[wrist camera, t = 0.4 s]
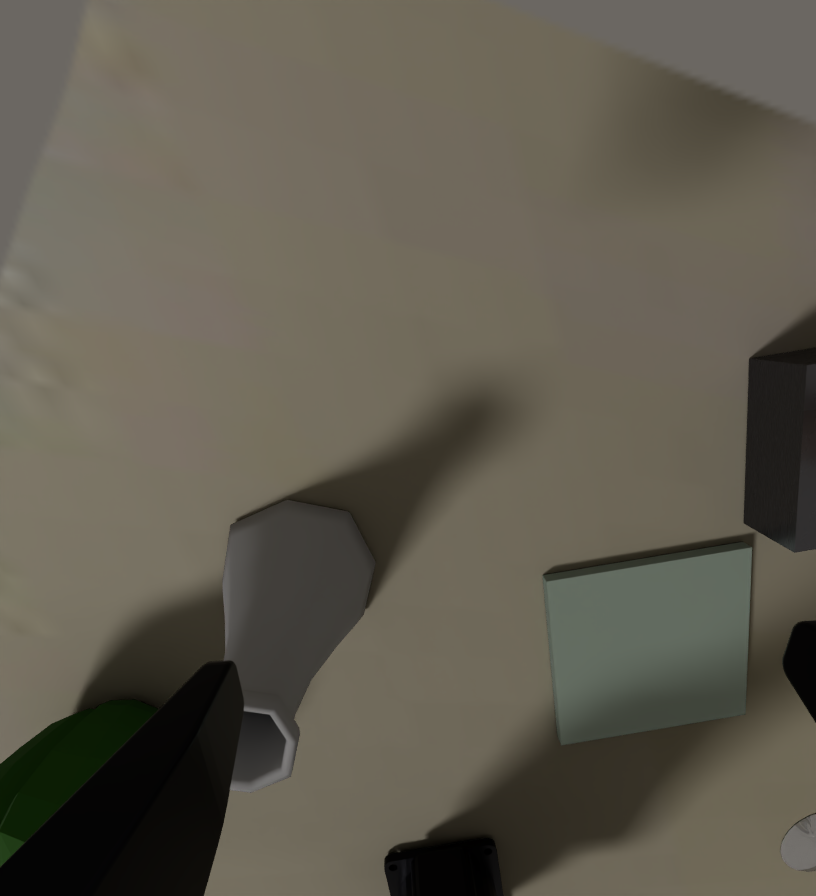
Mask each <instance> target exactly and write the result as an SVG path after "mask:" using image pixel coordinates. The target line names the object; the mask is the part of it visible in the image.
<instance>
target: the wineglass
mask: <svg viewBox="0 0 816 896" xmlns="http://www.w3.org/2000/svg"><path fill="white" fill-rule="evenodd" d="M781 855H782V859H783V860H784V862H785V863H786V864H787V865H788V866H789V867H791V868H793V869H796V870H798V871H806V872H812V871H816V814H814V815H811V816H808V817H806V818H805V819H803V820H802V821H800V822H798V823H797V824H795V825H794V826H793V827H792V828H791V829H790V830H789V831H788V832H787V834H786V836H785V838H784V839H783V841H782V845H781Z"/></svg>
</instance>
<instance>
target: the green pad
mask: <svg viewBox="0 0 816 896" xmlns="http://www.w3.org/2000/svg"><path fill="white" fill-rule="evenodd" d="M751 563H752V547H751V546H749V545H747V544H746V543H744V542H739V543H733V544H727V545H721V546H715V547H709V548H703V549H697V550H691V551H685V552H679V553H673V554H667V555H661V556H655V557H649V558H643V559H637V560H631V561H625V562H619V563H613V564H607V565H601V566H595V567H589V568H583V569H577V570H571V571H565V572H559V573H553V574H547V575H543V586H544V596H545V607H546V618H547V629H548V640H549V650H550V661H551V672H552V683H553V693H554V704H555V715H556V726H557V736H558V739H559V741H560V743H561V745H567V744H573V743H579V742H585V741H591V740H597V739H603V738H609V737H615V736H621V735H627V734H633V733H639V732H645V731H650V730H656V729H662V728H668V727H674V726H680V725H686V724H692V723H698V722H704V721H710V720H716V719H722V718H728V717H734V716H740V715H745V713H746V688H747V663H748V638H749V613H750V588H751Z"/></svg>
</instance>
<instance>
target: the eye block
mask: <svg viewBox="0 0 816 896" xmlns="http://www.w3.org/2000/svg"><path fill="white" fill-rule="evenodd" d="M744 524H746V525H748V526H749V527H751V528H753V529H755V530H756V531H758V532H760V533H761V534H763V535H765V536H767V537H768V538H770V539H772V540H774V541H775V542H777V543H779V544H780V545H782V546H784V547H786V548H787V549H789V550H791V551H793V552H794V553H795V552H801V551H807V550H813V549H816V348H810V349H804V350H798V351H792V352H786V353H780V354H774V355H768V356H762V357H756V358H750V359H749V384H748V413H747V443H746V472H745V501H744Z"/></svg>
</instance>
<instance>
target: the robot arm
mask: <svg viewBox="0 0 816 896" xmlns="http://www.w3.org/2000/svg"><path fill="white" fill-rule="evenodd" d="M782 664H783V669H784V672H785V674H786V676H787V678H788V679H789V681H790V683H791V684H792V686H793V687H794V689H795V690H796V692H797V694H798V695H799V697H800V698H801V700H802V702H803V703H804V705H805V706H806V708H807V709H808V711H809V713H810V714H811V716H812V717H813V719H814V721H815V722H816V621H802V622H798V623H797V624H796V625H795V626H794V627H793V629H792V632H791V635H790V638H789V641H788V644H787V647H786V650H785V653H784V656H783V660H782ZM243 713H244V697H243V693H242V688H241V684H240V679H239V675H238V671H237V667H236V664H235V663H234V662H233V661H231V660H225V661H211V662H207V663H206V664H204V665H203V666H202V667H201V668H200V669H199V670H198V671H197V672H196V673H195V674H194V675H193V676H192V677H191V678H190V679H189V680H188V681H187V682H186V683H185V684H184V685H183V686H182V687H181V688H180V689H179V690H178V691H177V692H176V693H175V694H174V695H173V696H172V697H171V698H170V699H169V700H168V701H167V702H166V703H165V704H164V705H163V706H162V707H161V708H160V709H159V710H158V711H157V712H156V713H155V714H154V715H153V716H152V717H151V718H149V719H148V720H147V721H146V722H145V723H144V724H143V725H142V726H141V727H140V728H139V729H138V730H137V731H136V732H135V733H134V734H133V735H132V736H131V737H130V738H129V739H128V740H127V741H126V742H125V743H124V744H123V745H122V746H121V747H120V748H119V749H118V750H117V751H116V752H115V753H114V754H113V755H112V756H111V757H110V758H109V759H108V760H107V761H106V762H105V763H104V764H103V765H102V766H101V767H100V768H99V769H98V770H97V771H96V772H95V773H94V774H93V775H92V776H91V777H90V778H89V779H88V780H87V781H86V782H85V783H84V784H83V785H82V786H81V787H80V788H79V789H78V790H77V791H76V792H75V793H74V794H73V795H72V796H71V797H70V798H69V799H68V800H67V801H66V802H65V803H64V804H63V805H62V806H61V807H60V808H59V809H58V810H57V811H56V812H55V813H54V814H53V815H52V816H51V817H50V818H49V819H48V820H47V821H46V822H45V823H44V824H43V825H42V826H41V827H40V828H39V829H38V830H37V831H36V832H35V833H34V834H33V835H32V836H31V837H30V838H29V839H28V840H27V841H26V842H25V843H24V844H23V845H22V846H21V847H20V848H19V849H18V850H17V851H16V852H15V853H14V854H13V855H12V856H11V857H10V858H9V859H8V860H7V861H6V862H5V863H4V864H3V865H2V866H1V867H0V896H204V893H205V889H206V886H207V882H208V879H209V875H210V872H211V868H212V864H213V861H214V857H215V854H216V850H217V847H218V843H219V839H220V835H221V831H222V827H223V823H224V818H225V813H226V808H227V803H228V797H229V792H230V786H231V781H232V775H233V769H234V764H235V758H236V753H237V747H238V742H239V736H240V731H241V725H242V719H243ZM384 869H385V874H386V878H387V882H388V886H389V890H390V895H391V896H503V890H502V884H501V877H500V870H499V863H498V857H497V850H496V845H495V842H494V840H493V839H491V838H483V839H477V840H471V841H465V842H459V843H453V844H447V845H441V846H435V847H429V848H423V849H417V850H411V851H406V852H400V853H394V854H390V855H388V856H386V857H385V860H384Z"/></svg>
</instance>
